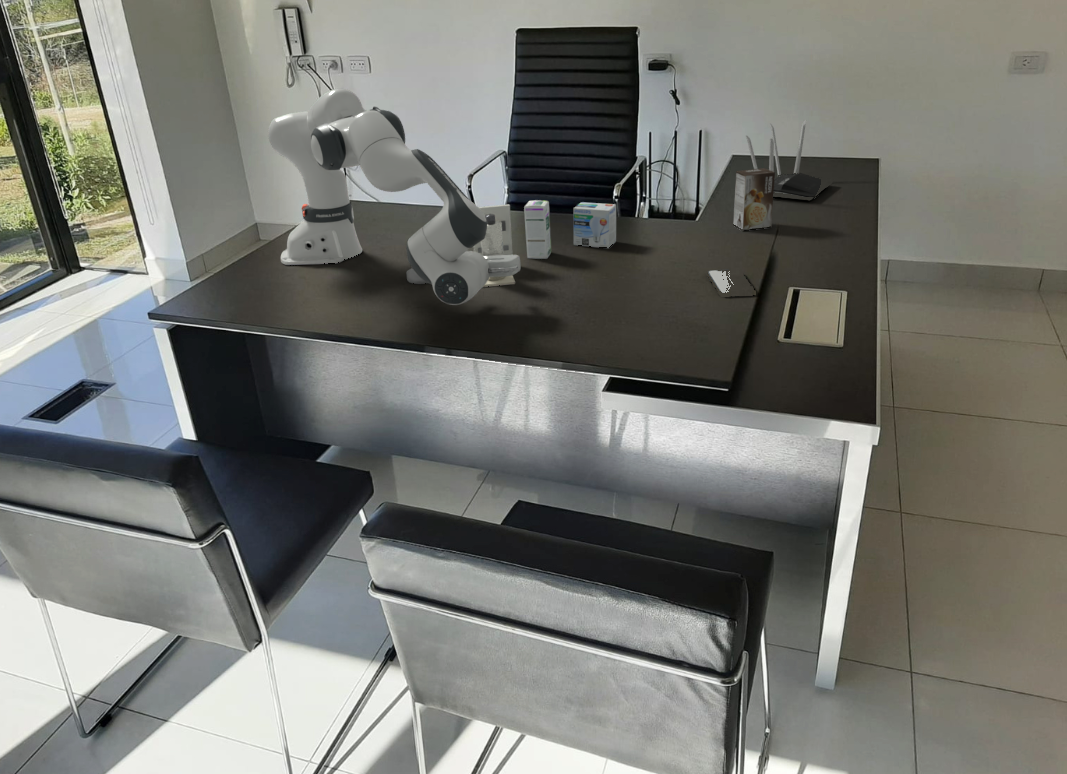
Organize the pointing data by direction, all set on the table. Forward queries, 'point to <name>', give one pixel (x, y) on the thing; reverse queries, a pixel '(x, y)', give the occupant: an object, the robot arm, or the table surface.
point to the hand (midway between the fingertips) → (482, 259)
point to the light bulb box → (595, 224)
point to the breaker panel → (504, 216)
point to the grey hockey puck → (414, 277)
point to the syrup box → (537, 229)
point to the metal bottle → (493, 240)
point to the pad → (501, 282)
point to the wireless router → (790, 182)
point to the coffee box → (754, 198)
